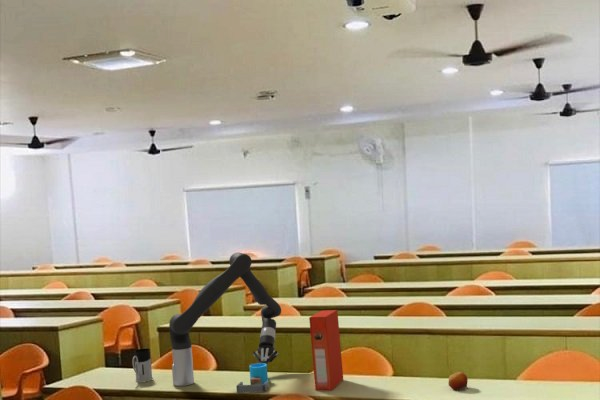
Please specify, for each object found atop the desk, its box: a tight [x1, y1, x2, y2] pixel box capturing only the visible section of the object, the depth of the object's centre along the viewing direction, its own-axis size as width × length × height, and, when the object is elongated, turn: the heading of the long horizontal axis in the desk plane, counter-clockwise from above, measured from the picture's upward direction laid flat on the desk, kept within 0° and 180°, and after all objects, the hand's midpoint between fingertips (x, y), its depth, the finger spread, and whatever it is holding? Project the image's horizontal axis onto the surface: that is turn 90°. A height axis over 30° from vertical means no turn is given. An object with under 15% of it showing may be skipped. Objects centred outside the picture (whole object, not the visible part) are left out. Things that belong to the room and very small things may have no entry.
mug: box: [249, 362, 269, 385], centre depth 305 cm, size 12×8×8 cm
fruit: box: [448, 371, 469, 391], centre depth 270 cm, size 8×8×8 cm
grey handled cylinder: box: [131, 348, 154, 383], centre depth 323 cm, size 9×14×15 cm, turn 166°
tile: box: [249, 377, 261, 385], centre depth 297 cm, size 4×4×4 cm
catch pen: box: [235, 380, 270, 393], centre depth 292 cm, size 13×6×3 cm, turn 79°
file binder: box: [308, 309, 344, 391], centre depth 291 cm, size 8×17×32 cm, turn 160°
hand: (263, 369), depth 311 cm, fingers closed
